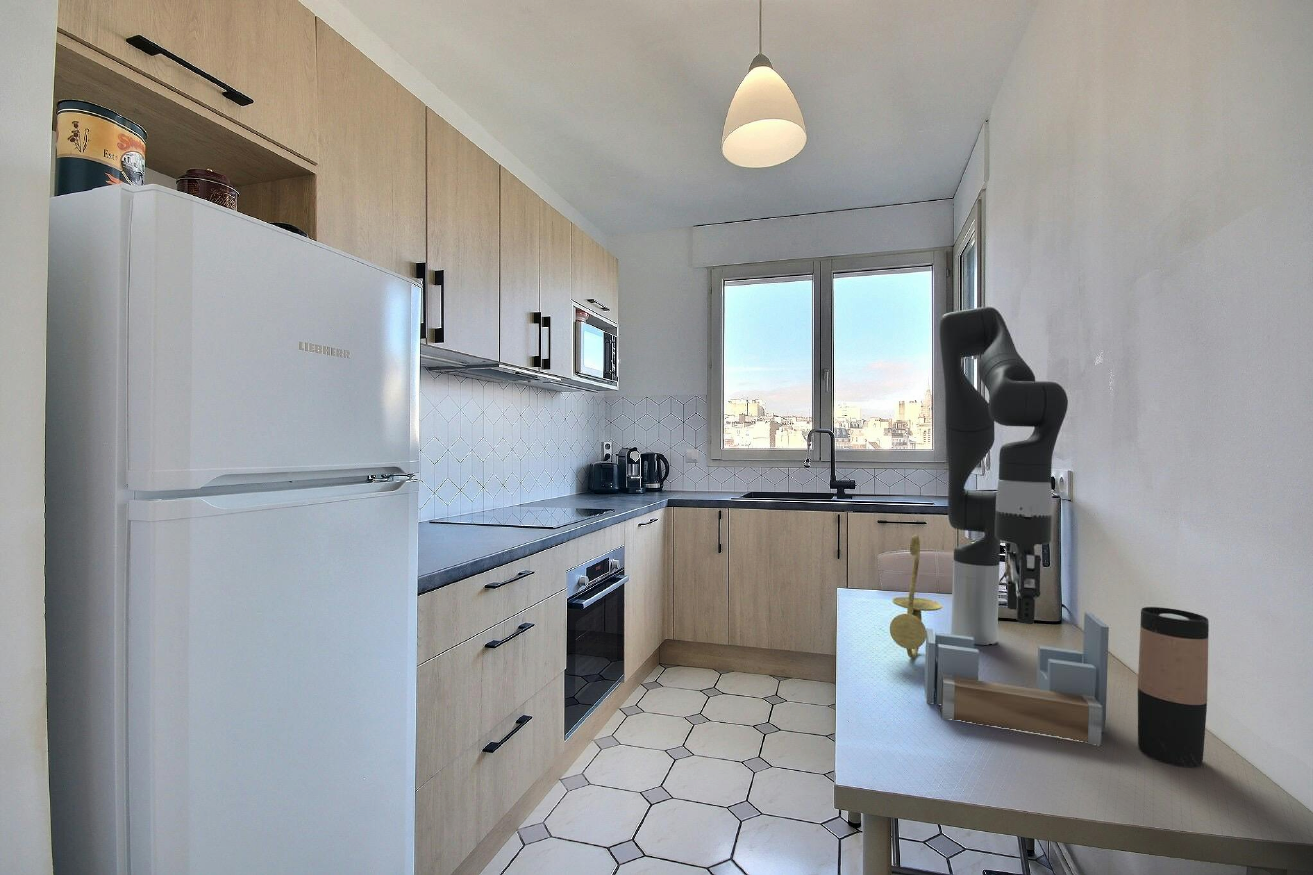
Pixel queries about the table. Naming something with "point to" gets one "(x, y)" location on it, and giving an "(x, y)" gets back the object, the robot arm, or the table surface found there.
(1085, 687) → the pair of grey brackets
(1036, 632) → the table surface
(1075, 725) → the brown wooden bar
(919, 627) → the wall sconce
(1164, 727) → the travel mug
